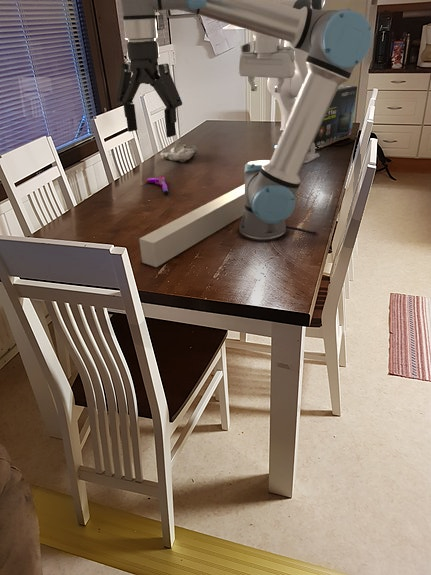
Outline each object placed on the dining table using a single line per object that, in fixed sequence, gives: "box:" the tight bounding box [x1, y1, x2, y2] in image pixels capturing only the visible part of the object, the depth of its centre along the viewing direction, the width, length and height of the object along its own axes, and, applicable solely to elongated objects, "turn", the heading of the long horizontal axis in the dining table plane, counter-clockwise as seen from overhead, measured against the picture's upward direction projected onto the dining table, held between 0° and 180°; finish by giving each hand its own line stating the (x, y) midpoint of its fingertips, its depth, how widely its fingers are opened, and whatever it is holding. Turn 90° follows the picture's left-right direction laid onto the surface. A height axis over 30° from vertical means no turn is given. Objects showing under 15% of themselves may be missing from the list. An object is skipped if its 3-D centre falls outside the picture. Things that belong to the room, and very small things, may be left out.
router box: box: [314, 84, 358, 146], centre depth 238 cm, size 36×11×27 cm, turn 134°
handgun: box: [146, 176, 169, 196], centre depth 190 cm, size 21×8×2 cm, turn 11°
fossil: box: [160, 142, 199, 163], centre depth 229 cm, size 18×11×15 cm
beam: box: [138, 183, 245, 268], centre depth 155 cm, size 72×6×8 cm, turn 144°
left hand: (151, 133), depth 119 cm, fingers open, 13 cm apart
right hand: (265, 91), depth 157 cm, fingers open, 8 cm apart
